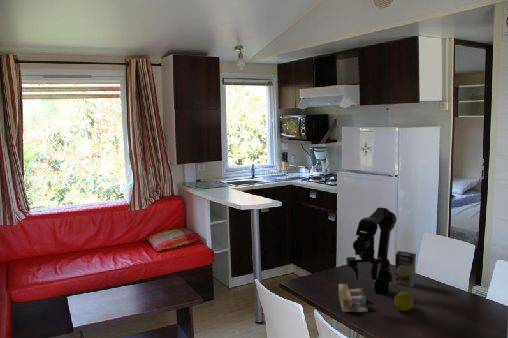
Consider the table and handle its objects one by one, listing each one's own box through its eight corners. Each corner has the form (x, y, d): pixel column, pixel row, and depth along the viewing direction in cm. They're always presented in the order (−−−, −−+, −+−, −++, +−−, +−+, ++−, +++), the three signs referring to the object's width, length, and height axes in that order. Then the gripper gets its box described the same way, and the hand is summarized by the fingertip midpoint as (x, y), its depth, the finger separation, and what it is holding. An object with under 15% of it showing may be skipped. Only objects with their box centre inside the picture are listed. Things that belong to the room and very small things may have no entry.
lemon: (404, 316, 195) (405, 298, 194) (389, 310, 201) (389, 293, 200) (418, 309, 202) (418, 292, 201) (403, 303, 208) (403, 287, 207)
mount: (361, 295, 217) (361, 284, 217) (367, 311, 200) (367, 299, 199) (338, 295, 218) (338, 283, 218) (342, 311, 201) (342, 299, 200)
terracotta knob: (361, 295, 215) (361, 286, 214) (363, 299, 210) (363, 289, 210) (341, 295, 215) (341, 286, 215) (342, 298, 211) (342, 289, 210)
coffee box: (394, 284, 231) (394, 253, 229) (397, 280, 236) (398, 250, 234) (412, 287, 226) (413, 256, 224) (415, 283, 231) (416, 253, 229)
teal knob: (364, 302, 207) (364, 292, 206) (366, 306, 202) (366, 296, 202) (343, 302, 207) (343, 292, 207) (344, 306, 203) (344, 296, 203)
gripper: (383, 241, 211) (383, 273, 213) (343, 241, 211) (343, 273, 213) (390, 248, 200) (389, 282, 202) (348, 249, 200) (348, 282, 202)
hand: (367, 279), depth 205 cm, fingers open, 9 cm apart
